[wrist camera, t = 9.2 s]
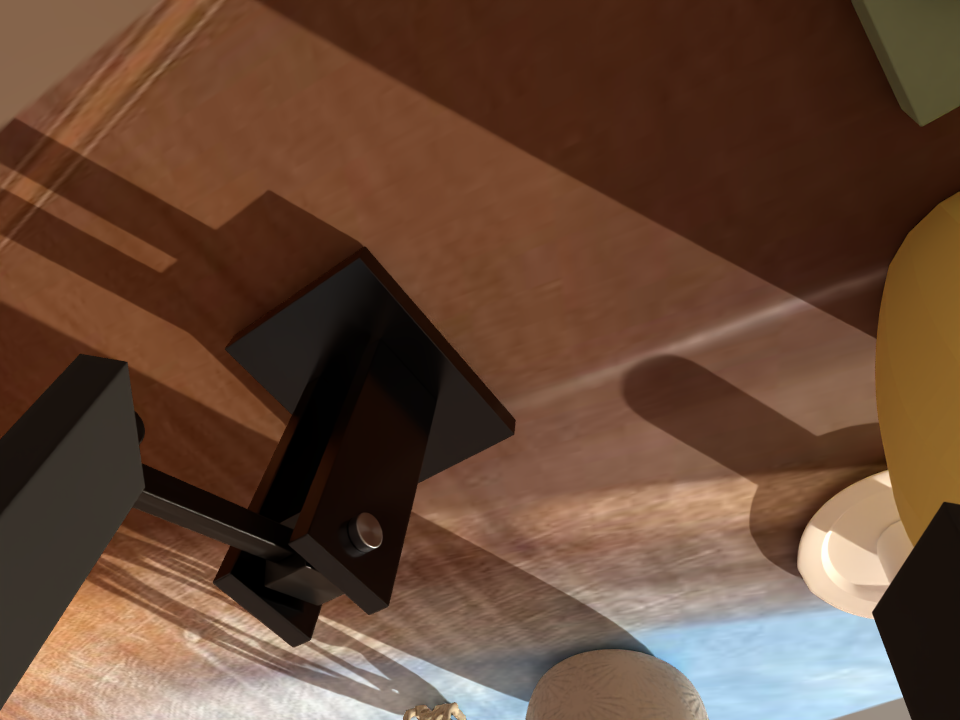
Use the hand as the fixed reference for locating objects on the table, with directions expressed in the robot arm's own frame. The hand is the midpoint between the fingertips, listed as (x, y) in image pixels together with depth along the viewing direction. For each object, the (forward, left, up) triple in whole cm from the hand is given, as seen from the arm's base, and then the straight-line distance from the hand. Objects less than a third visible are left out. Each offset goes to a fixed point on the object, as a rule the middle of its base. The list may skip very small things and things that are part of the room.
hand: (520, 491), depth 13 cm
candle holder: (+31, +3, -23) cm, 38 cm away
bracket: (+7, -15, -23) cm, 28 cm away
